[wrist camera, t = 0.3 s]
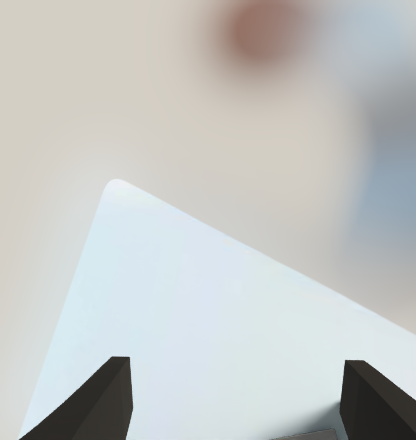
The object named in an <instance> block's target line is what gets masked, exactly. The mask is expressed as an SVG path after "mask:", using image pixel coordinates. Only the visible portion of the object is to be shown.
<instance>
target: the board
mask: <svg viewBox="0 0 416 440" xmlns="http://www.w3.org/2000/svg"><path fill="white" fill-rule="evenodd" d="M271 440H338V439H337V436H336V433H335V429H328V430H322V431H316V432H310V433H305V434H299V435H293V436H288V437H282V438H276V439H271Z"/></svg>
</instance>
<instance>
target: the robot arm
mask: <svg viewBox="0 0 416 440" xmlns="http://www.w3.org/2000/svg"><path fill="white" fill-rule="evenodd" d="M132 411H133V399H132V384H131V369H130V357H111V358H110V359H109V360H108V361H107V362H106V363H105V364H103V365H102V366H101V367H100V368H99V369H98V370H97V371H96V372H95V373H94V374H93V375H92V376H91V377H90V378H89V379H88V380H87V381H86V382H85V383H84V384H83V385H82V386H81V387H80V388H79V389H78V390H76V391H75V392H74V393H73V394H72V395H71V396H70V397H69V398H68V399H67V400H66V401H65V402H64V403H62V404H61V405H60V406H59V407H58V408H57V409H56V410H54V411H53V412H52V413H51V414H50V415H49V416H47V417H46V418H45V419H44V420H43V421H42V422H40V423H39V424H38V425H37V426H36V427H34V428H33V429H32V430H31V431H30V432H28V433H27V434H26V435H24V436H23V437H22V438H21V439H19V440H126V436H127V432H128V428H129V424H130V419H131V415H132ZM340 415H341V418H342V421H343V424H344V427H345V430H346V433H347V436H348V439H349V440H416V400H415V399H413V398H412V397H411V396H409V395H408V394H407V393H405V392H404V391H403V390H402V389H400V388H399V387H398V386H397V385H395V384H394V383H393V382H391V381H390V380H389V379H388V378H386V377H385V376H384V375H383V374H381V373H380V372H379V371H377V370H376V369H375V368H373V367H372V366H371V365H369V364H368V363H367V362H365V361H364V360H345V366H344V375H343V384H342V394H341V403H340Z"/></svg>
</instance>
